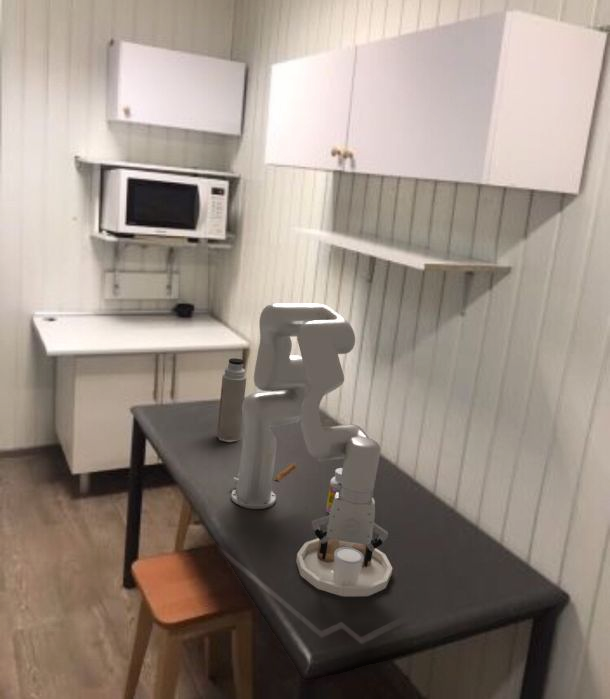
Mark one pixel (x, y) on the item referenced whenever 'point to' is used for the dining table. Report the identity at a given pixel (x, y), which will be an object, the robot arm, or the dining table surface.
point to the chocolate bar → (285, 471)
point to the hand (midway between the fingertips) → (344, 559)
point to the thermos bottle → (232, 400)
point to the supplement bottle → (332, 492)
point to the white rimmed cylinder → (347, 566)
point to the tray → (322, 572)
